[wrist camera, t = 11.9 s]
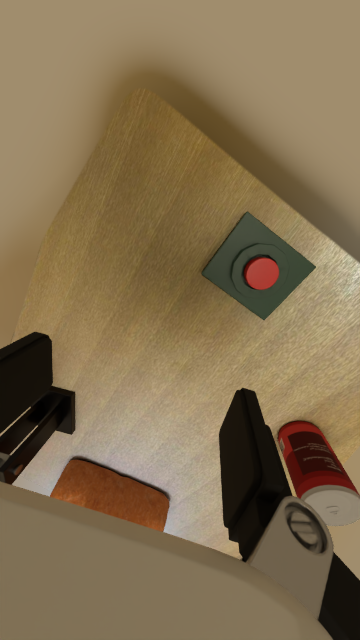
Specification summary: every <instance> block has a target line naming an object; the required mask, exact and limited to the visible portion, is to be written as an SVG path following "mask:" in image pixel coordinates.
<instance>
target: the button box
mask: <svg viewBox="0 0 360 640" xmlns="http://www.w3.org/2000/svg"><path fill="white" fill-rule="evenodd" d="M257 257H265V258H269V259H271V260H273V261H274V262H275V263H276V264H277V265H278V268H279V276H278V279H277V281H276V282H275V283H274V284H273V285H272V286H271V287H269V288H267V289H264V290H258V289H254V288H253V287H251V286H250V285H249V284H248V283H247V282H246V280H245V277H244V270H245V267H246V265H247V264H248V263H249V262H250V261H251V260H252V259H254V258H257ZM315 268H316V266H314V265H313V264H312V263H311V262H310V261H308V260H307V259H306V258H305V257H303V256H302V255H301V254H300V253H298V252H297V251H296V250H295V249H293V248H292V247H291V246H290V245H288V244H287V243H286V242H285V241H283V240H282V239H281V238H280V237H278V236H277V235H276V234H275V233H273V232H272V231H271V230H270V229H269V228H267V227H266V226H265V225H264V224H262V223H261V222H260V221H259V220H257V219H256V218H255V217H254V216H252V215H251V214H250V213H249V212H246V213H245V214H244V215H243V216H242V218H241V219H240V221H239V222H238V223H237V225H236V226H235V227H234V229H233V230H232V231H231V233H230V234H229V236H228V237H227V238H226V240H225V241H224V242H223V244H222V245H221V247H220V248H219V249H218V251H217V252H216V253H215V255H214V256H213V257H212V259H211V260H210V262H209V263H208V264H207V266H206V267H205V268H204V270H203V271H202V275H203V276H205V277H206V278H207V279H209V280H210V281H211V282H213V283H214V284H215V285H217V286H218V287H220V288H221V289H222V290H224V291H225V292H226V293H228V294H229V295H230V296H232V297H233V298H234V299H236V300H237V301H239V302H240V303H241V304H243V305H244V306H245V307H247V308H248V309H249V310H251V311H252V312H253V313H255V314H256V315H257V316H259V317H260V318H262V319H263V320H265V319H266V318H267V317H268V316H269V315H270V314H271V313H272V312H273V311H274V310H275V309H276V308H277V307H278V306H279V305H280V304H281V303H282V302H283V301H284V300H285V299H286V298H287V296H288V295H289V294H290V293H291V292H292V291H293V290H294V289H295V288H296V287H297V286H298V285H299V284H300V283H301V282H302V281H303V280H304V279H305V278H306V277H307V276H308V275H309V274H310V273H311V272H312V271H313V270H314V269H315Z"/></svg>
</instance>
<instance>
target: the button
mask: <svg viewBox="0 0 360 640" xmlns="http://www.w3.org/2000/svg"><path fill="white" fill-rule="evenodd" d="M278 276H279V268H278V265H277V264H276V263H275V262H274V261H273V260H271V259H269V258H265V257H257V258H254V259H252V260H251V261H250V262H249V263H248V264H247V265H246V267H245V270H244V277H245V280H246V282H247V283H248V284H249V285H250V286H251V287H253V288H254V289H258V290H264V289H267V288H269V287H271V286H272V285H273V284H274V283H275V282H276V281H277V279H278Z"/></svg>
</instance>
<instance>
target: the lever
mask: <svg viewBox="0 0 360 640" xmlns="http://www.w3.org/2000/svg"><path fill="white" fill-rule="evenodd" d="M10 456H11V455H8V454H4V453H1V452H0V467H1V466H2V465H3V464H4V463H5V462H6V461H7V460H8V458H9V457H10Z"/></svg>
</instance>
